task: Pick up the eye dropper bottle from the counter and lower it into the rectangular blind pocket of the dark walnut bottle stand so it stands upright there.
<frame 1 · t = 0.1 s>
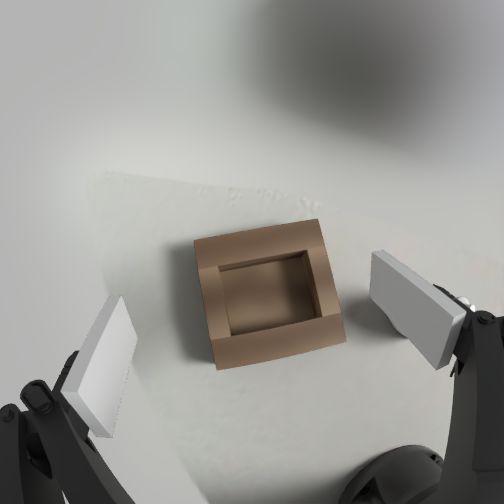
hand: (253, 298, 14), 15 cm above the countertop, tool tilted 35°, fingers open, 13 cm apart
walnut bottle stand: (266, 296, 29), on the countertop
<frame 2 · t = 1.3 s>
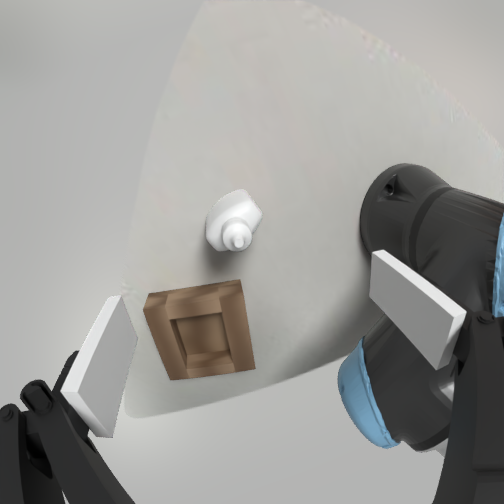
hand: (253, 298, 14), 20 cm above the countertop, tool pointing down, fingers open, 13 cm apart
eye dropper bottle: (229, 209, 33), on the countertop
walnut bottle stand: (202, 325, 38), on the countertop
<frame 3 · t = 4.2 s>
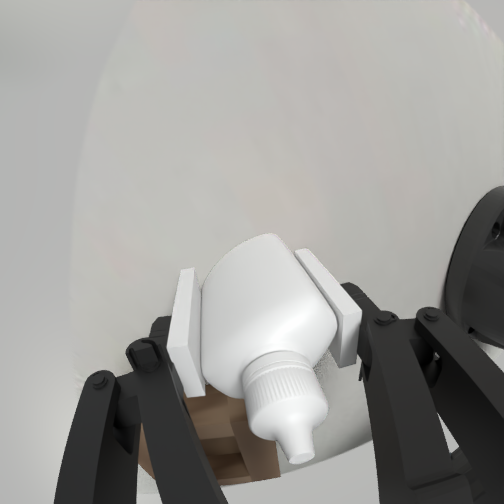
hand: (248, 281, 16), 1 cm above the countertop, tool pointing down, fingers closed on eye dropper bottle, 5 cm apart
eye dropper bottle: (245, 269, 17), on the countertop, touching gripper
walnut bottle stand: (203, 427, 22), on the countertop
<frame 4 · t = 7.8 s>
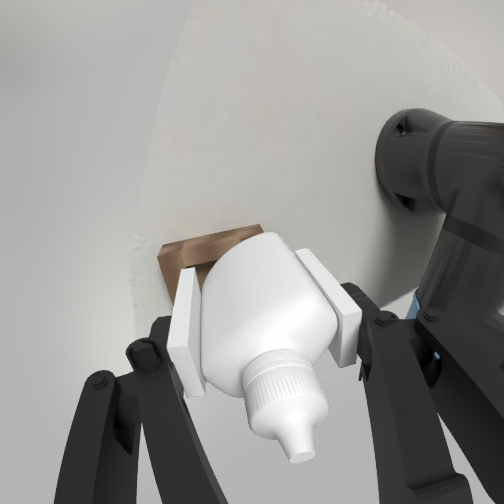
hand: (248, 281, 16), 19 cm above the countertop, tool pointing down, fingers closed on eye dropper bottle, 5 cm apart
eye dropper bottle: (245, 268, 17), point 17 cm above the countertop, touching gripper
walnut bottle stand: (220, 278, 36), on the countertop
when the fingers open (5 cm above the countertop, at t = 11.6 s): eye dropper bottle drops 3 cm, resting on walnut bottle stand.
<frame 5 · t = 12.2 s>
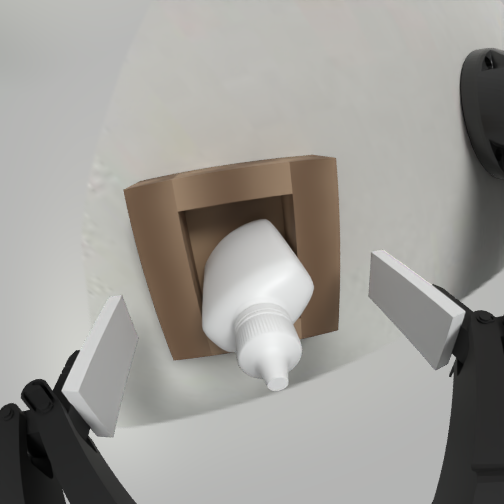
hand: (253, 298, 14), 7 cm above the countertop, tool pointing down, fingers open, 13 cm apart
eye dropper bottle: (242, 251, 20), point 1 cm above the countertop, touching walnut bottle stand
walnut bottle stand: (239, 248, 21), on the countertop
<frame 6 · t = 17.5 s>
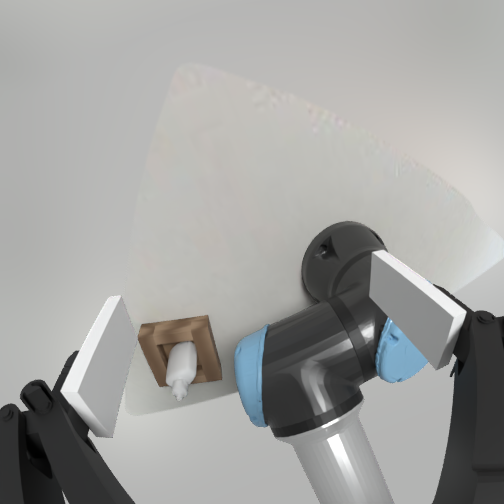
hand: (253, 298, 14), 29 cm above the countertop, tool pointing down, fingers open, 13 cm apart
eye dropper bottle: (183, 349, 48), point 1 cm above the countertop, touching walnut bottle stand
walnut bottle stand: (182, 346, 49), on the countertop
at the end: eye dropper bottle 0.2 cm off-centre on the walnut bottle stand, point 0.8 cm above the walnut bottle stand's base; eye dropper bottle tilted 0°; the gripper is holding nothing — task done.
